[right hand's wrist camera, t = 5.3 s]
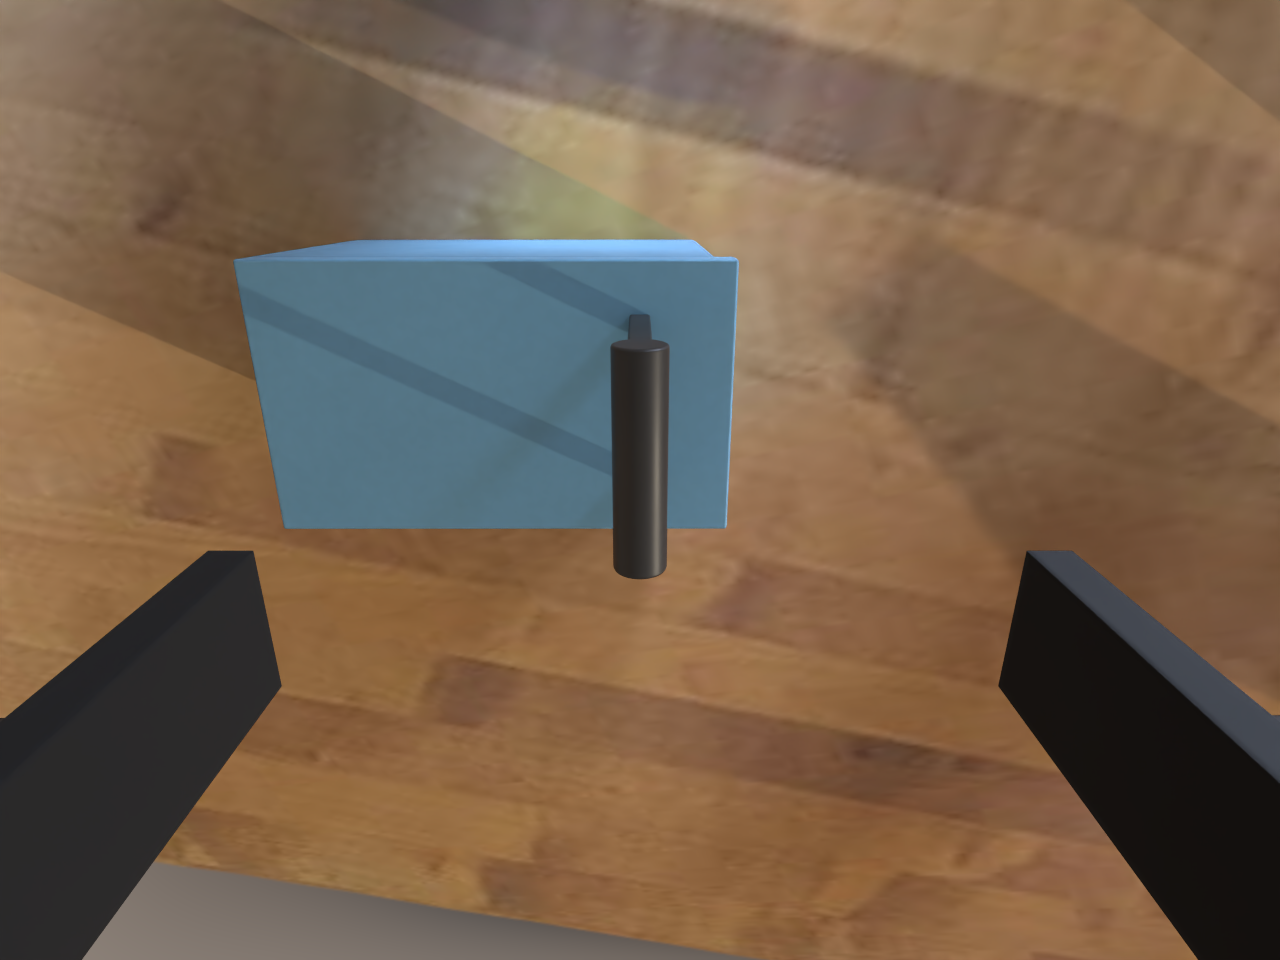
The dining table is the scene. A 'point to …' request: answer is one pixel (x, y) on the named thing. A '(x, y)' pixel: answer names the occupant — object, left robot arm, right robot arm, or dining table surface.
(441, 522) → the lid
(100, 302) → the dining table surface
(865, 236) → the dining table surface
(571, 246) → the chest
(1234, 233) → the dining table surface
